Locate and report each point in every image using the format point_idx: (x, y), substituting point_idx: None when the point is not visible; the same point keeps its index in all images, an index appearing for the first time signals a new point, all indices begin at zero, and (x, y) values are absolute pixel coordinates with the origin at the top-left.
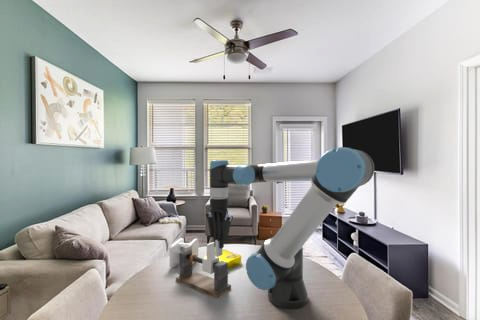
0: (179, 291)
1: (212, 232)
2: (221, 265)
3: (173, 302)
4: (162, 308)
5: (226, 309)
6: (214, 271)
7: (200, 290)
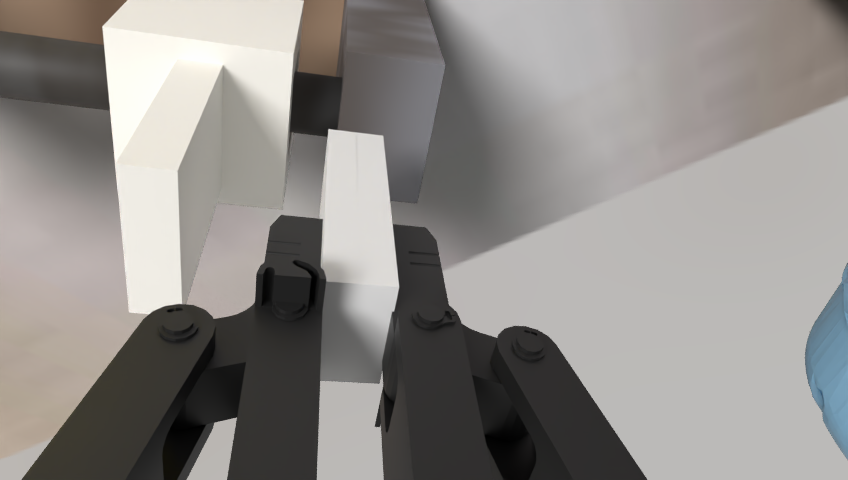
0: (68, 164)
1: (184, 467)
2: (417, 170)
3: None
4: None
5: (517, 185)
6: None
7: None
